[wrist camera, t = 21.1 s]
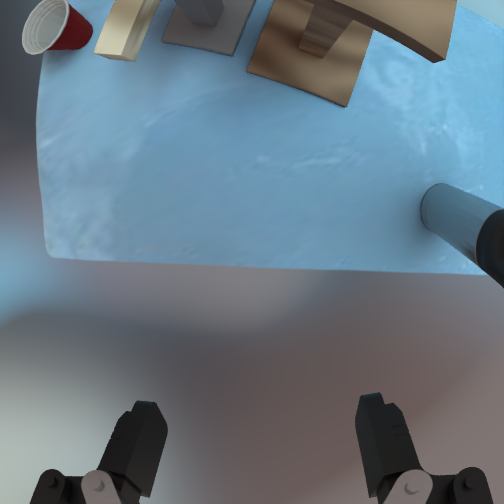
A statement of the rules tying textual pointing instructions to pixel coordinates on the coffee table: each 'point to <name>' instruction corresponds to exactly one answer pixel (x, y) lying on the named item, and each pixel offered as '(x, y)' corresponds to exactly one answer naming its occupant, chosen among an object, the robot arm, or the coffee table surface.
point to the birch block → (125, 29)
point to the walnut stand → (344, 40)
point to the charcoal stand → (208, 24)
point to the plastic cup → (55, 28)
